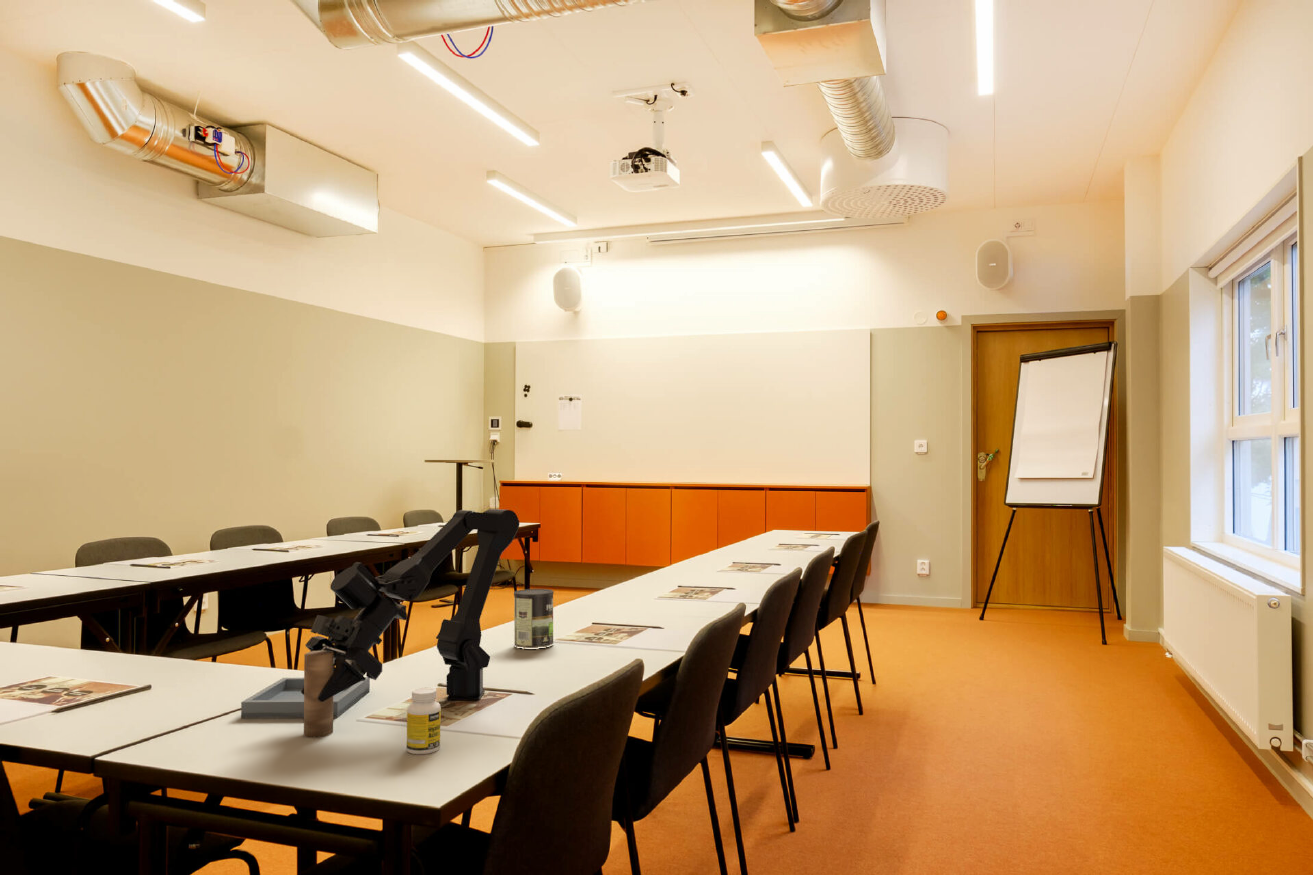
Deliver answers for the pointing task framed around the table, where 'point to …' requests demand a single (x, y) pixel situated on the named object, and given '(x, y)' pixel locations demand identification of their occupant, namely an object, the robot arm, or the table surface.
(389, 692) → the table surface
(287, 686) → the bin
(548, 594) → the coffee can
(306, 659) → the canister
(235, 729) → the table surface
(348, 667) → the robot arm
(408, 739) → the supplement bottle
